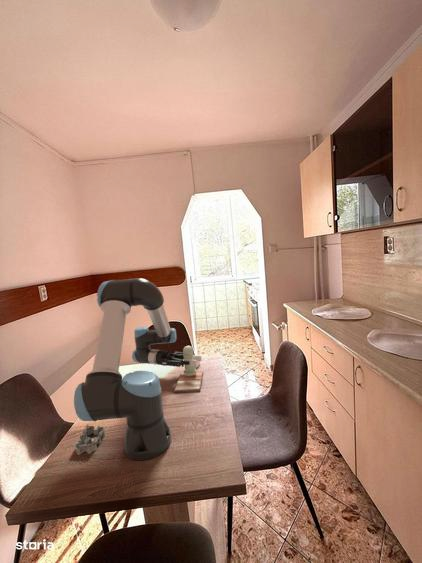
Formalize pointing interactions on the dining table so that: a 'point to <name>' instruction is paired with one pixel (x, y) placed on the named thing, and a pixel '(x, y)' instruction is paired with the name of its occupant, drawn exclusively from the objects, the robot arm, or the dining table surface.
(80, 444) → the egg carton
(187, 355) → the pawn
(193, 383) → the board
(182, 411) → the dining table surface
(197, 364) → the die
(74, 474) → the dining table surface
